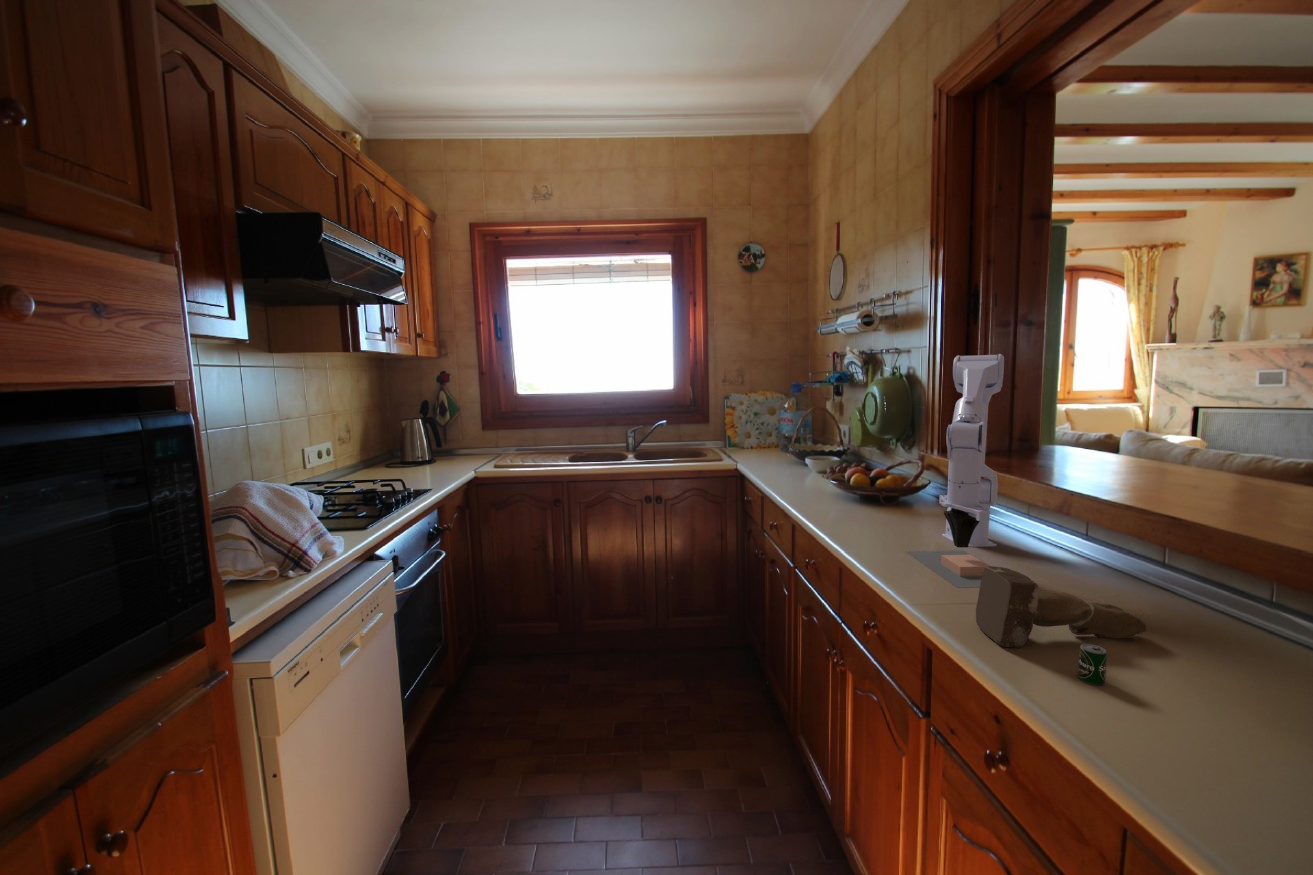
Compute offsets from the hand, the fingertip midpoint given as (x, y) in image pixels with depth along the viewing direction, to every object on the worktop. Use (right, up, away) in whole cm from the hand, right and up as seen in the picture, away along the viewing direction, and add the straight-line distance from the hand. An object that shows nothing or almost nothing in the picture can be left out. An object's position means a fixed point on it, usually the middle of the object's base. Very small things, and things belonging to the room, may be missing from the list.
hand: (961, 546), depth 111 cm
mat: (0, -5, +1) cm, 5 cm away
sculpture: (-1, -8, -28) cm, 30 cm away
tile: (0, -3, +2) cm, 4 cm away
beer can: (-6, -10, -40) cm, 42 cm away
